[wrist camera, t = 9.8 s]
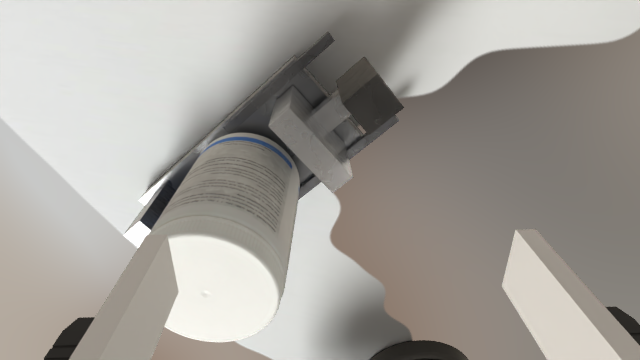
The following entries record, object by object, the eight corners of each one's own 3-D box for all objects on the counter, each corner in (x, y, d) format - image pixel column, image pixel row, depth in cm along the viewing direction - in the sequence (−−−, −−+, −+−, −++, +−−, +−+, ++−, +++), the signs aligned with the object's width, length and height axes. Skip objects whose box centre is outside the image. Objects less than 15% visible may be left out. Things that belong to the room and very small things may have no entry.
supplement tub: (179, 148, 37) (93, 253, 24) (275, 113, 35) (236, 208, 22) (229, 231, 41) (178, 358, 28) (317, 204, 39) (305, 328, 26)
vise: (395, 113, 38) (418, 148, 30) (219, 252, 45) (200, 312, 36) (325, 27, 35) (330, 40, 27) (146, 190, 41) (106, 242, 33)
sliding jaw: (399, 100, 36) (420, 128, 29) (328, 157, 38) (332, 196, 31) (348, 36, 33) (358, 49, 26) (275, 100, 35) (267, 128, 28)
